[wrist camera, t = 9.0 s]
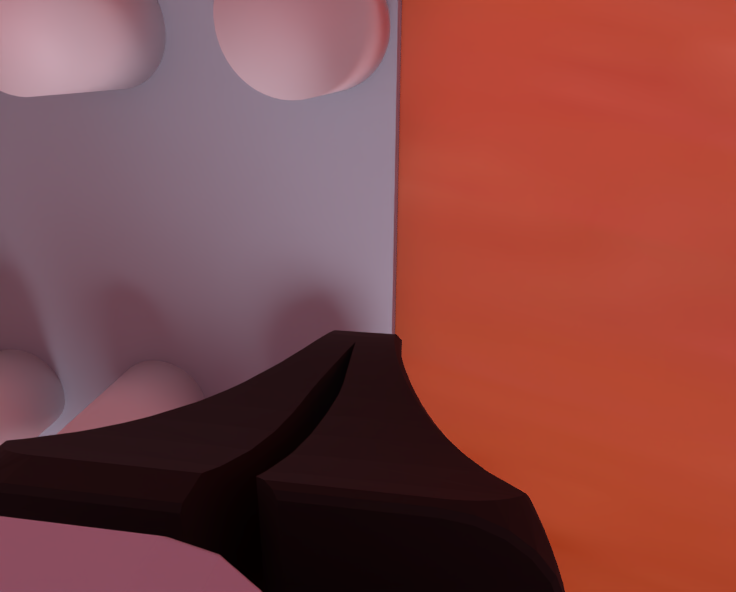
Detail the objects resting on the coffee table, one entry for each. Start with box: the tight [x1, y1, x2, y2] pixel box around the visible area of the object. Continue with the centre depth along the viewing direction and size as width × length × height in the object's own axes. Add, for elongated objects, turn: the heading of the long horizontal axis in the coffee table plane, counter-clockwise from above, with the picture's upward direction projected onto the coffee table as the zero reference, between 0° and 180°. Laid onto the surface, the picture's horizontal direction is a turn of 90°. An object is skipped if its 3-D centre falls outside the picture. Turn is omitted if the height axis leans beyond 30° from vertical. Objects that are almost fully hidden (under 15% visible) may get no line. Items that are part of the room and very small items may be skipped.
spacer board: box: [0, 0, 402, 445], centre depth 20 cm, size 18×23×6 cm
